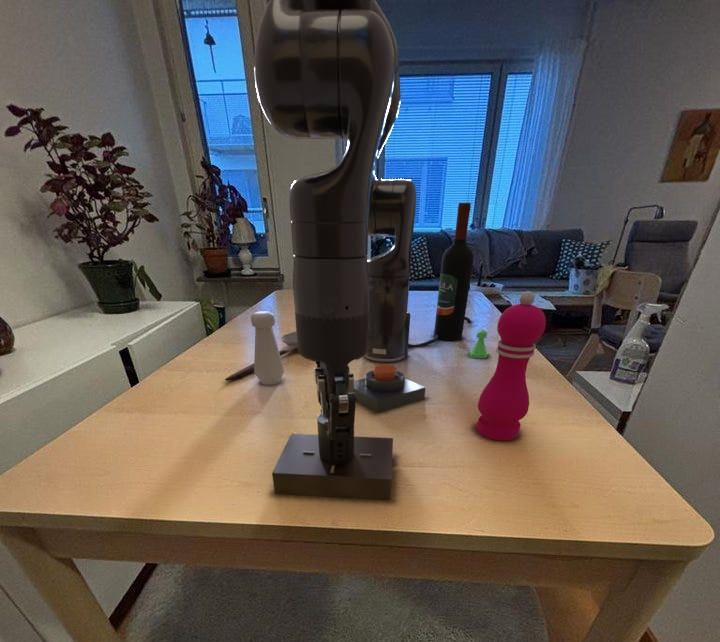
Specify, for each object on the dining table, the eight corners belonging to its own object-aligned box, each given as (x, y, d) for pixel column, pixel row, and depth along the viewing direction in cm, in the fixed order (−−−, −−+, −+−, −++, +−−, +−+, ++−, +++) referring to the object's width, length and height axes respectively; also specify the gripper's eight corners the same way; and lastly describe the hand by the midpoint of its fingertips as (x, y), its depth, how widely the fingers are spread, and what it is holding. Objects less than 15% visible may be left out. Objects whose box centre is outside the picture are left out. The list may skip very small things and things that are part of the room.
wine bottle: (464, 341, 104) (485, 202, 87) (435, 340, 104) (451, 202, 87) (458, 333, 110) (477, 203, 93) (431, 333, 110) (445, 203, 94)
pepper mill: (514, 447, 57) (553, 298, 46) (466, 434, 61) (492, 292, 49) (526, 428, 62) (563, 290, 51) (481, 417, 66) (507, 285, 54)
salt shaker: (278, 387, 76) (270, 316, 69) (251, 385, 77) (240, 315, 70) (289, 377, 81) (282, 309, 73) (263, 375, 82) (253, 308, 74)
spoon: (334, 342, 100) (333, 330, 98) (248, 391, 76) (244, 376, 75) (299, 340, 105) (297, 329, 103) (208, 386, 81) (204, 371, 80)
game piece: (491, 356, 93) (496, 330, 90) (479, 359, 91) (483, 332, 88) (477, 352, 96) (481, 326, 93) (465, 355, 94) (469, 328, 91)
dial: (330, 442, 52) (328, 405, 49) (360, 449, 50) (360, 411, 47) (312, 457, 49) (309, 418, 46) (344, 466, 47) (343, 426, 44)
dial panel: (391, 456, 55) (393, 436, 53) (390, 500, 47) (391, 478, 45) (293, 452, 56) (291, 432, 54) (274, 493, 48) (271, 471, 46)
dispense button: (386, 372, 73) (387, 363, 72) (400, 378, 70) (401, 369, 69) (369, 376, 71) (369, 367, 70) (382, 383, 68) (383, 373, 67)
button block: (390, 382, 79) (391, 362, 76) (424, 398, 72) (426, 377, 70) (344, 394, 73) (343, 373, 71) (376, 413, 67) (377, 390, 64)
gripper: (385, 321, 35) (378, 481, 44) (354, 293, 46) (354, 425, 56) (300, 324, 33) (311, 488, 43) (290, 295, 45) (301, 429, 55)
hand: (335, 451), depth 49 cm, fingers closed on dial, 4 cm apart
